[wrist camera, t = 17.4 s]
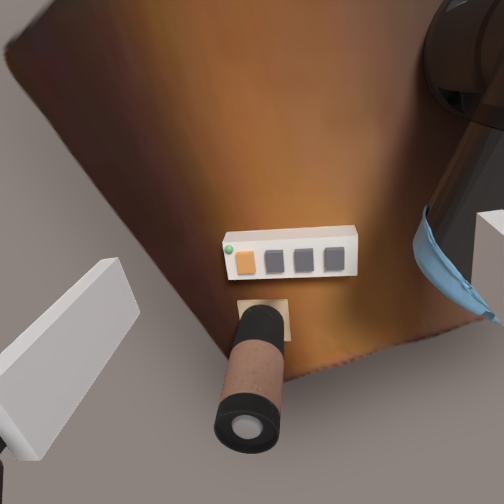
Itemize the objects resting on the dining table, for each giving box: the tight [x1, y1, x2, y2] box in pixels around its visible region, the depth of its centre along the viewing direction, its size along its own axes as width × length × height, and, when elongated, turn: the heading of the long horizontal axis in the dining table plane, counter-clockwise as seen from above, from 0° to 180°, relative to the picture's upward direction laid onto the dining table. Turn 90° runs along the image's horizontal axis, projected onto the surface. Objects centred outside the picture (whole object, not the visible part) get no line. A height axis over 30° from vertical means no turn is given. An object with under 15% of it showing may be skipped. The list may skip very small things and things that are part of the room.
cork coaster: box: [237, 299, 291, 341], centre depth 58 cm, size 8×8×1 cm
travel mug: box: [214, 304, 284, 454], centre depth 49 cm, size 8×8×20 cm
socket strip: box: [222, 225, 358, 280], centre depth 50 cm, size 18×6×4 cm, turn 97°
